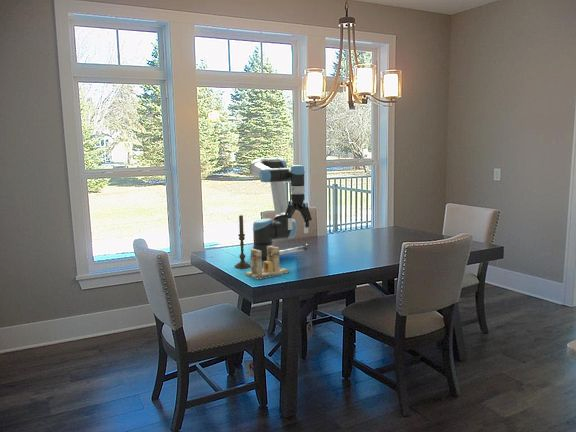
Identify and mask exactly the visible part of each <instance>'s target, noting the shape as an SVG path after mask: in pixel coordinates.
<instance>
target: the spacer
mask: <svg viewBox="0 0 576 432" xmlns="http://www.w3.org/2000/svg"><path fill="white" fill-rule="evenodd" d="M262 268H263V270H264V271H267V272H272V271H274V267H273V262H272V261H268V260H262Z"/></svg>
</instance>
